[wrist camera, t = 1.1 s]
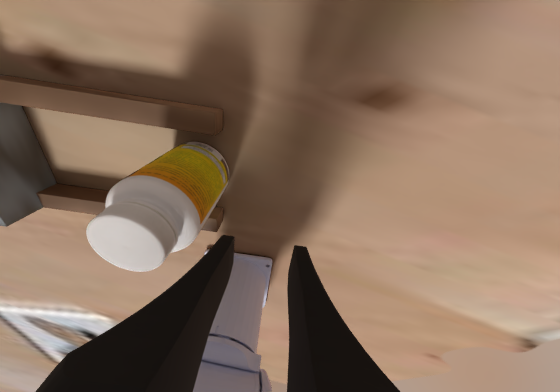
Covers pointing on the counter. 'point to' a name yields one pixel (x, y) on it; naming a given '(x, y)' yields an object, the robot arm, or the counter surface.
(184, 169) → the supplement bottle
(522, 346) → the counter surface
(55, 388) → the robot arm
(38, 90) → the guide track
